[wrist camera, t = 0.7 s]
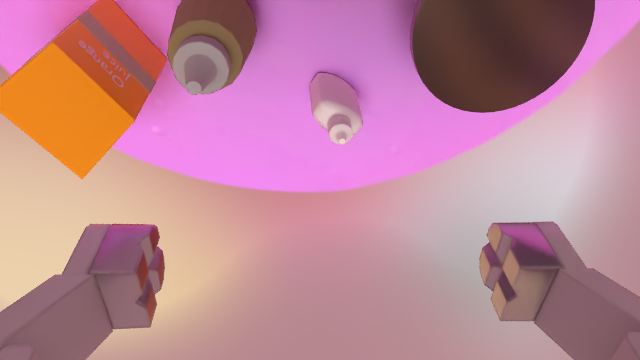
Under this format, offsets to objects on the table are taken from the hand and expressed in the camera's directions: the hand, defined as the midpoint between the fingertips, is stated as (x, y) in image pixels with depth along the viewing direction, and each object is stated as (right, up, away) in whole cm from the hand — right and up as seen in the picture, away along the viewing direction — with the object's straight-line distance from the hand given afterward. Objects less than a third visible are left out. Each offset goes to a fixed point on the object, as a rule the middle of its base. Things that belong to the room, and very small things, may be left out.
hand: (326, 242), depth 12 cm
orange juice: (-23, +16, +41) cm, 50 cm away
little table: (+15, +21, +40) cm, 48 cm away
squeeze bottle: (-11, +19, +40) cm, 46 cm away
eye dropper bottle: (+1, +12, +45) cm, 47 cm away
